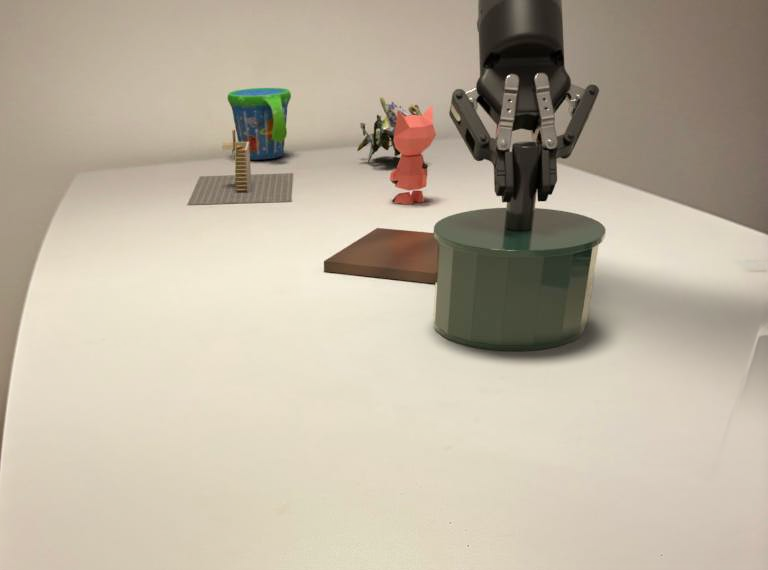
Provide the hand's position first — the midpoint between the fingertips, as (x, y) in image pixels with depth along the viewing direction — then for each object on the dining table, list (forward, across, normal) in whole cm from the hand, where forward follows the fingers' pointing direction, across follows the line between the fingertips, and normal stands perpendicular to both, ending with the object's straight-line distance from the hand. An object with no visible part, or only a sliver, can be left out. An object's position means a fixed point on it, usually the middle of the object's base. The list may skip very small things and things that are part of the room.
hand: (526, 195), depth 85 cm
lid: (+1, 0, +4) cm, 4 cm away
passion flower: (-50, -8, +67) cm, 84 cm away
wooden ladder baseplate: (-39, -31, +56) cm, 75 cm away
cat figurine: (-31, -6, +48) cm, 57 cm away
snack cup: (-56, -30, +74) cm, 98 cm away
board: (-9, -7, +26) cm, 29 cm away
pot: (+7, 0, +10) cm, 12 cm away
